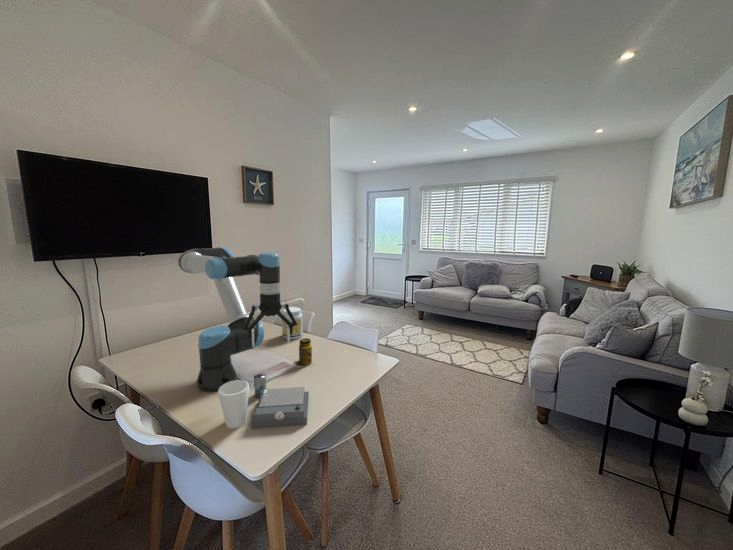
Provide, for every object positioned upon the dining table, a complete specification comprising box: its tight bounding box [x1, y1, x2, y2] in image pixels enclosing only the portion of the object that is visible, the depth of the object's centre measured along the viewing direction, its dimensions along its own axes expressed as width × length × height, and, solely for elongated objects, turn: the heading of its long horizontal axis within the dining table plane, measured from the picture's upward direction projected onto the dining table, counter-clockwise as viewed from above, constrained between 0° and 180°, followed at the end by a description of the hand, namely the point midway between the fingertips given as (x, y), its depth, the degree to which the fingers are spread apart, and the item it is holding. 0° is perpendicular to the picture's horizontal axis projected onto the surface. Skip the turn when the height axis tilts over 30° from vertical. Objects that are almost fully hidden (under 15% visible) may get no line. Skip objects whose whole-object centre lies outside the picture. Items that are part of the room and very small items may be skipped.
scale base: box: [251, 390, 310, 430], centre depth 106 cm, size 18×16×6 cm
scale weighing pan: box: [259, 386, 306, 408], centre depth 108 cm, size 15×11×2 cm
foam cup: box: [217, 379, 250, 429], centre depth 99 cm, size 10×9×13 cm
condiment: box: [292, 337, 315, 369], centre depth 143 cm, size 7×8×12 cm
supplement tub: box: [281, 306, 304, 340], centre depth 177 cm, size 12×12×17 cm
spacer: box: [253, 373, 267, 399], centre depth 116 cm, size 4×4×8 cm
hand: (271, 343), depth 118 cm, fingers open, 13 cm apart
